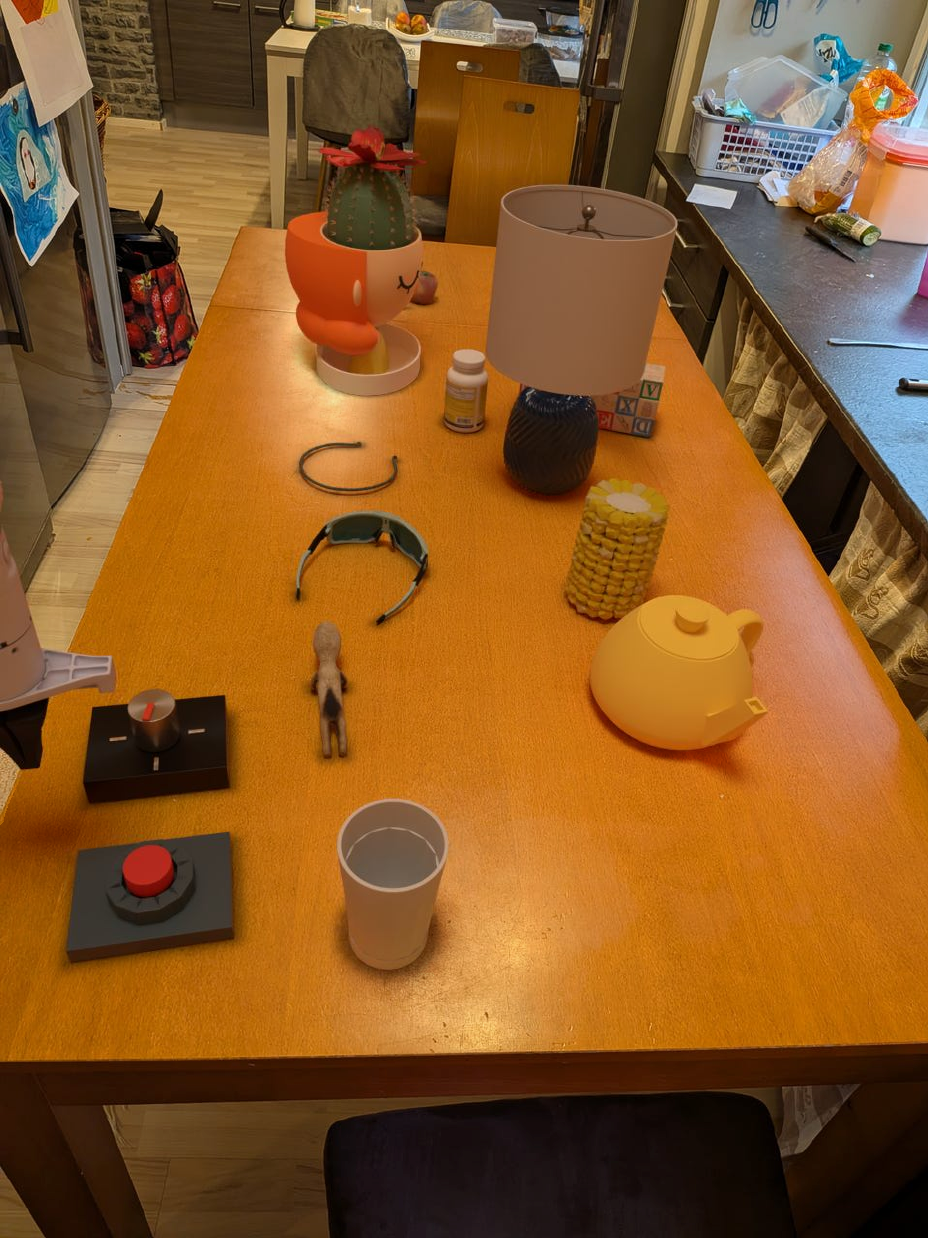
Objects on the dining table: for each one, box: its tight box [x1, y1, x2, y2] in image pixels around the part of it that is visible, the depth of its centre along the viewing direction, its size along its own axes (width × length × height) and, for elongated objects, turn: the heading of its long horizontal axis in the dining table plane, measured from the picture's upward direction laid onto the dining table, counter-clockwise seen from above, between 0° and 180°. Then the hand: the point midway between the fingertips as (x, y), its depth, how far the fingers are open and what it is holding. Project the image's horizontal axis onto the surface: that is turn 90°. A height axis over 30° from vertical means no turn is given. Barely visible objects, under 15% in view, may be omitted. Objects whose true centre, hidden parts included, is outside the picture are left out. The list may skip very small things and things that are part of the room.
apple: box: [410, 270, 439, 305], centre depth 171 cm, size 6×8×6 cm
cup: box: [336, 798, 450, 971], centre depth 68 cm, size 8×8×12 cm
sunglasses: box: [295, 509, 429, 625], centre depth 105 cm, size 14×15×5 cm
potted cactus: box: [284, 125, 427, 397], centre depth 138 cm, size 22×22×35 cm
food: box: [564, 477, 670, 621], centre depth 103 cm, size 15×12×10 cm
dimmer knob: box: [127, 688, 181, 752], centre depth 80 cm, size 4×4×4 cm
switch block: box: [65, 831, 235, 963], centre depth 71 cm, size 12×9×4 cm
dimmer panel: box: [82, 694, 231, 805], centre depth 82 cm, size 12×9×3 cm
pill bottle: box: [443, 348, 489, 434], centre depth 133 cm, size 6×6×11 cm
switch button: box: [123, 845, 174, 897], centre depth 70 cm, size 4×4×2 cm
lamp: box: [485, 184, 678, 497], centre depth 114 cm, size 20×20×37 cm
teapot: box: [588, 594, 769, 751], centre depth 89 cm, size 20×19×13 cm
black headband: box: [298, 441, 398, 493], centre depth 124 cm, size 14×13×1 cm
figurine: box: [309, 621, 348, 758], centre depth 89 cm, size 4×4×15 cm
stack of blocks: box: [518, 362, 666, 438], centre depth 138 cm, size 21×6×12 cm, turn 76°
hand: (31, 759), depth 69 cm, fingers closed
